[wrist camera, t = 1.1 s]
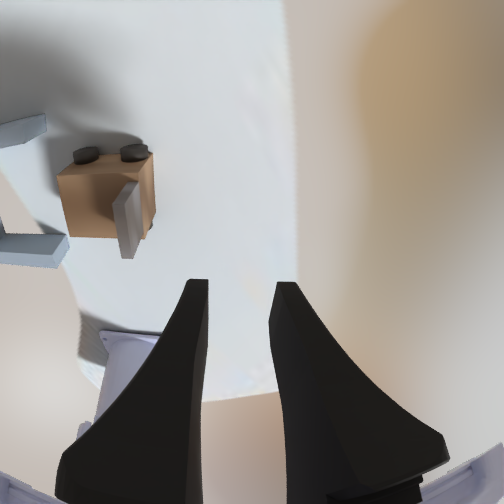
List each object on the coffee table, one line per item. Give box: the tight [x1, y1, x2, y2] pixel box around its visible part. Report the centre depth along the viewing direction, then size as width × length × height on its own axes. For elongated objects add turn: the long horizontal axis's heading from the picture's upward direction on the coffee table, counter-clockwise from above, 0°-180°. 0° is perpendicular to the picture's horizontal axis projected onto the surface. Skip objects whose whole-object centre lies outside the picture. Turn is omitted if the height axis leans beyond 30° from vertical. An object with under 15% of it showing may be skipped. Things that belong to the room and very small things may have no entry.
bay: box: [0, 114, 70, 268], centre depth 14 cm, size 10×8×2 cm
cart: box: [56, 144, 156, 259], centre depth 14 cm, size 5×5×6 cm
